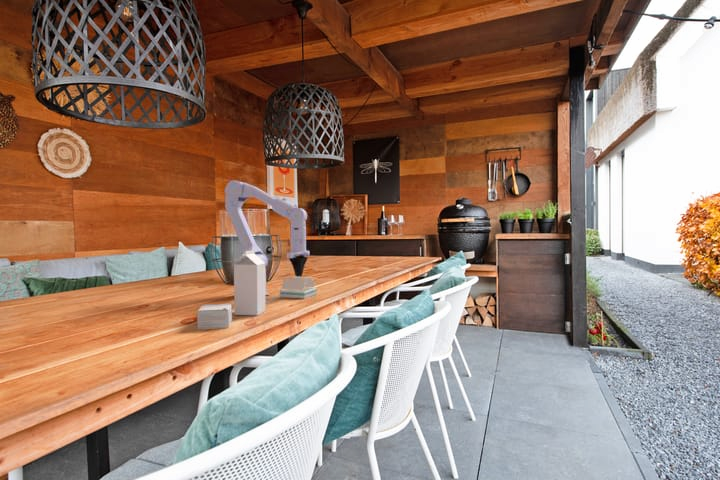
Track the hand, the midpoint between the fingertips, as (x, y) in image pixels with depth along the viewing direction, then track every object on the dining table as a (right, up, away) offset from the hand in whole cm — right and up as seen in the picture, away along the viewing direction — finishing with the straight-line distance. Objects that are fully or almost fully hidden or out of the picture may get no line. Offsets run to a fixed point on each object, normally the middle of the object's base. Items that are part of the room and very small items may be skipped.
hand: (298, 276), depth 151 cm
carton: (0, -8, 0) cm, 8 cm away
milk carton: (-10, -9, -30) cm, 33 cm away
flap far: (+1, -4, +5) cm, 7 cm away
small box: (-15, -9, -44) cm, 48 cm away
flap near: (-2, -5, -4) cm, 7 cm away
